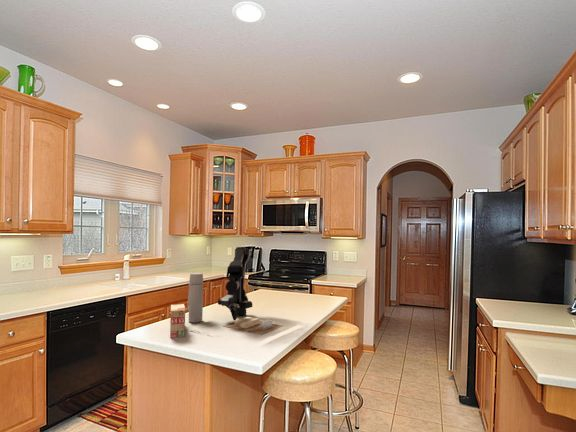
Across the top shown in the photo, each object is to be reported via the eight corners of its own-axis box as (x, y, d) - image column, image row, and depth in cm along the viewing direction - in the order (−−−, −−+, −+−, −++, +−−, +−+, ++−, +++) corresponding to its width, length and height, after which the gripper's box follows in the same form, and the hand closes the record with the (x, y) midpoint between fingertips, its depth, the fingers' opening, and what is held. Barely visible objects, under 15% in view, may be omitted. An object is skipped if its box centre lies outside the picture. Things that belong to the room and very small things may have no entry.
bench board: (222, 329, 164) (222, 326, 164) (246, 321, 179) (246, 318, 179) (261, 338, 151) (261, 334, 151) (283, 328, 166) (283, 325, 166)
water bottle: (205, 320, 181) (206, 273, 182) (196, 323, 174) (197, 274, 175) (192, 318, 185) (193, 272, 186) (182, 321, 178) (183, 273, 179)
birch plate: (234, 326, 165) (234, 320, 165) (247, 321, 174) (247, 316, 174) (245, 328, 161) (245, 323, 162) (258, 323, 170) (258, 318, 170)
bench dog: (260, 330, 159) (260, 322, 159) (269, 326, 164) (269, 319, 165) (263, 330, 158) (263, 323, 158) (272, 327, 164) (272, 319, 164)
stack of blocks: (170, 325, 171) (170, 300, 171) (183, 324, 173) (183, 300, 174) (170, 338, 151) (170, 310, 151) (184, 337, 153) (185, 309, 153)
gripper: (210, 289, 171) (209, 320, 170) (238, 293, 161) (238, 326, 160) (225, 286, 180) (225, 316, 180) (253, 290, 170) (252, 321, 170)
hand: (234, 320), depth 172 cm, fingers closed
